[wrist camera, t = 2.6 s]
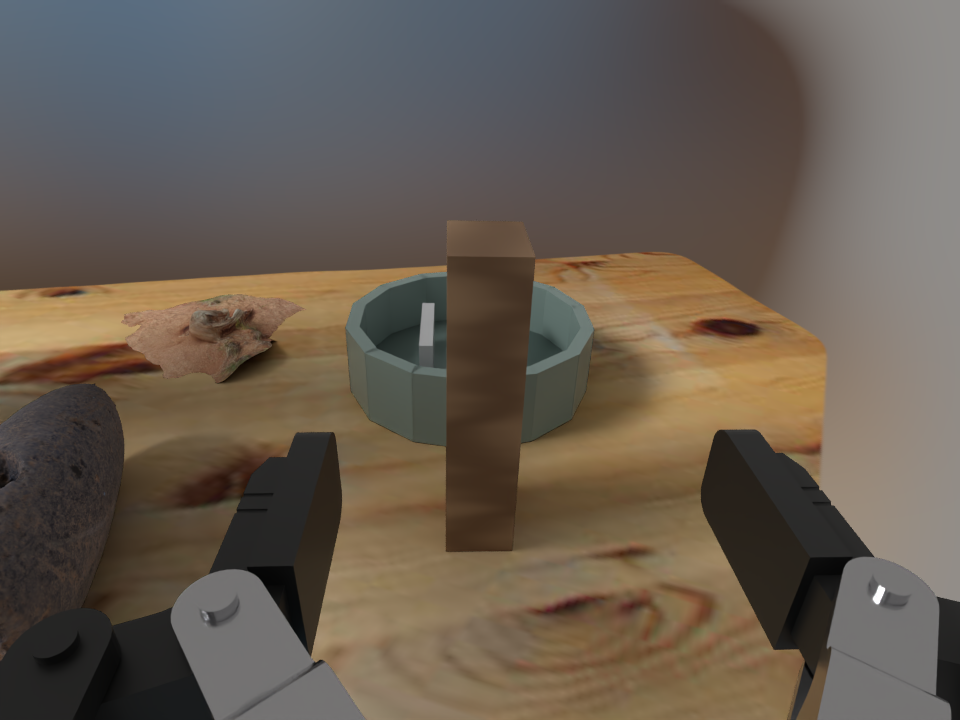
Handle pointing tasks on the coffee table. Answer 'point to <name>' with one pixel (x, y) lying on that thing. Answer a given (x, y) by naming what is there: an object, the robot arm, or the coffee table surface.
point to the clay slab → (208, 333)
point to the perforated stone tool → (55, 503)
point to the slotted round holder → (423, 358)
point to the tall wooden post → (485, 379)
